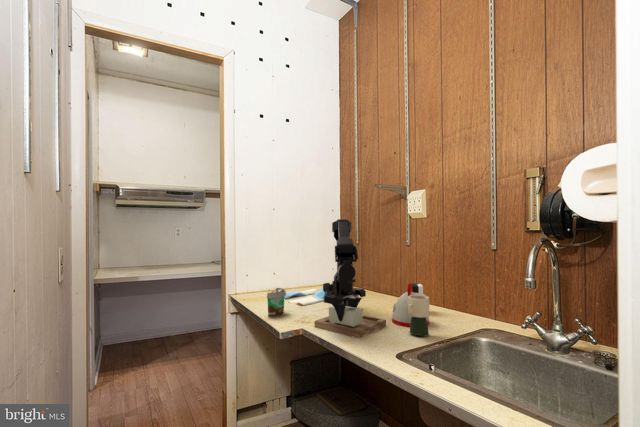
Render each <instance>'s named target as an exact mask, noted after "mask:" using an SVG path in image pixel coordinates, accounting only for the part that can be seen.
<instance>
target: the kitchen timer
mask: <svg viewBox="0 0 640 427" xmlns="http://www.w3.org/2000/svg"><path fill="white" fill-rule="evenodd" d="M411 284H412V283H411V282H409V283H408V284H407V291H406V292H404V293H402V294H400V296H399V298H398V299H397V300H396V302H395V303H394V304H393V306H392V315H391V317H392V318H391V319H392V321H391V322H392V323H393V324H394V325H396V326H399V327H403V328H409V329H410V324H411V318H412V316H411V315H409V313H408V296H410V295H417V294H415V293H414V292H412V286H411ZM425 318H426V319H427V324H428V326H429V325H430V315H429V316H428V317H425Z"/></svg>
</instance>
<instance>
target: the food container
mask: <svg viewBox="0 0 640 427" xmlns="http://www.w3.org/2000/svg"><path fill="white" fill-rule="evenodd" d="M286 293H287V291H286V290H285V288H281V287H275V290H273V291H271V292H267V294H266V299H267V312H268V313H267V317H270V318H271V317H279V316H282V315H283V316H284V314H285V312H284V311H285V300H286V299H285V296H286ZM284 299H285V300H284ZM283 313H284V314H283Z"/></svg>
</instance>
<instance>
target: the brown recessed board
mask: <svg viewBox="0 0 640 427" xmlns="http://www.w3.org/2000/svg"><path fill="white" fill-rule="evenodd" d="M386 326H387V320H386V319H384V318H378V317H373V316H368V315H363V323H361V324H359V325H356V326H354V327H352V326H348V325H344V324H339V323H335V322H331V321H329V315H327V316H325V317H321V318H319V319H316V320H314V327H315V328H317V329H321V330H326V331H330V332H334V333H337V334H341V335H346V336H349V337H352V336H353V337H352V338H358V339H360V338H363V337H366V336H367V335H369V334H371V333H373V332H375V331H378V330H380V329H382V328H384V327H386Z"/></svg>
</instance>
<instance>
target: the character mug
mask: <svg viewBox="0 0 640 427" xmlns="http://www.w3.org/2000/svg"><path fill="white" fill-rule="evenodd" d="M408 313H409V315H411V316H412V318H411V324H410V328H409V333H410V334H411V335H415V336H417V337H418V336H419V337H420V336H423V337H425V336H426V337H427V336H429V334H430V332H429V325H428V324H427V319H426V318H425V317H428V316H429V317H430V297H429V296H428V295H425V296H423V295H410V296H408Z"/></svg>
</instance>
